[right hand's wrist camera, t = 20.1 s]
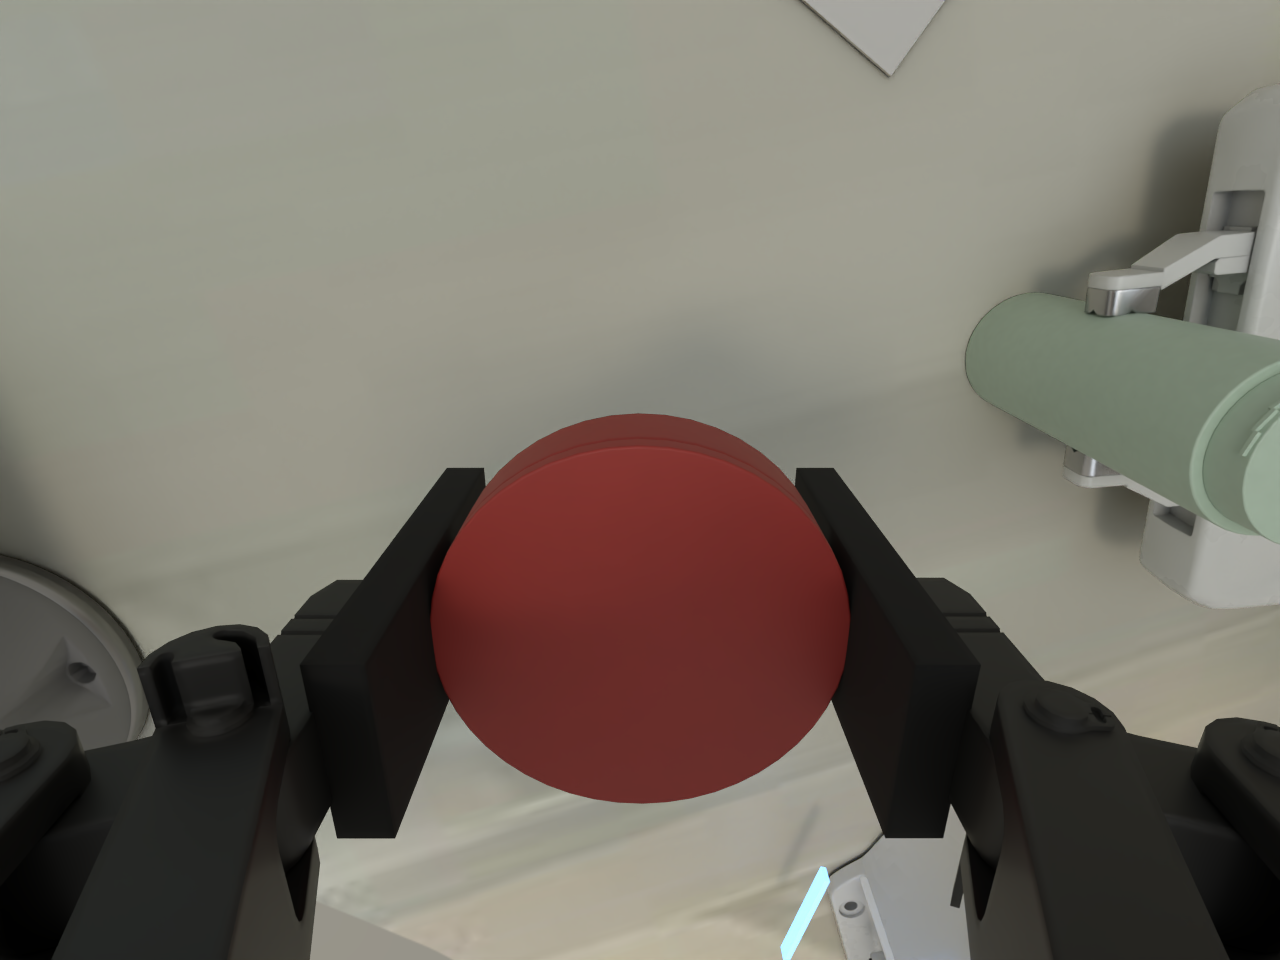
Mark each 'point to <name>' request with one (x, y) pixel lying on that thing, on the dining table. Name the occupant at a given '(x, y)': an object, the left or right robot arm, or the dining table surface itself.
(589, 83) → the dining table surface
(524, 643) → the lid
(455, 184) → the dining table surface
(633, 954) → the dining table surface
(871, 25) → the invitation card
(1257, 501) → the jar
